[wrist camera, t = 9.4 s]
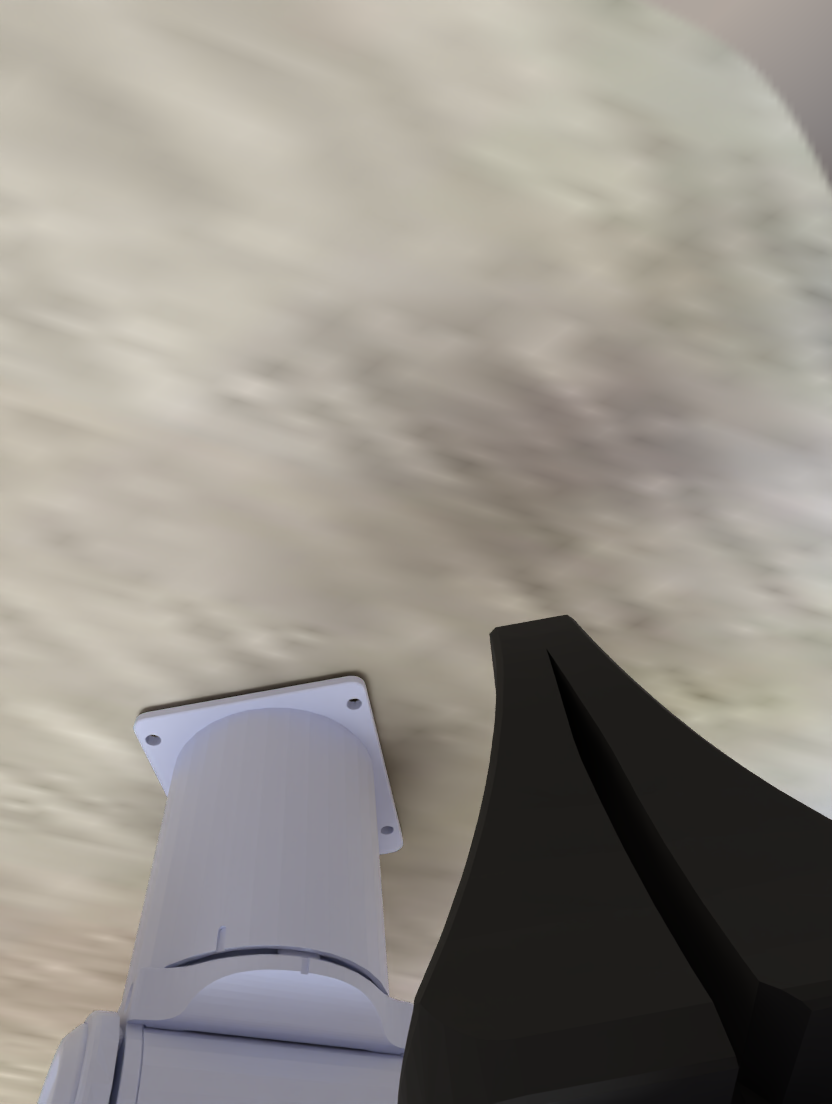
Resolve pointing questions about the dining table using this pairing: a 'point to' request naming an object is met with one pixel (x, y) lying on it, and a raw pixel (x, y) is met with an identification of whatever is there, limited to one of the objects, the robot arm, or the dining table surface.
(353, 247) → the dining table surface
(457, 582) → the dining table surface
